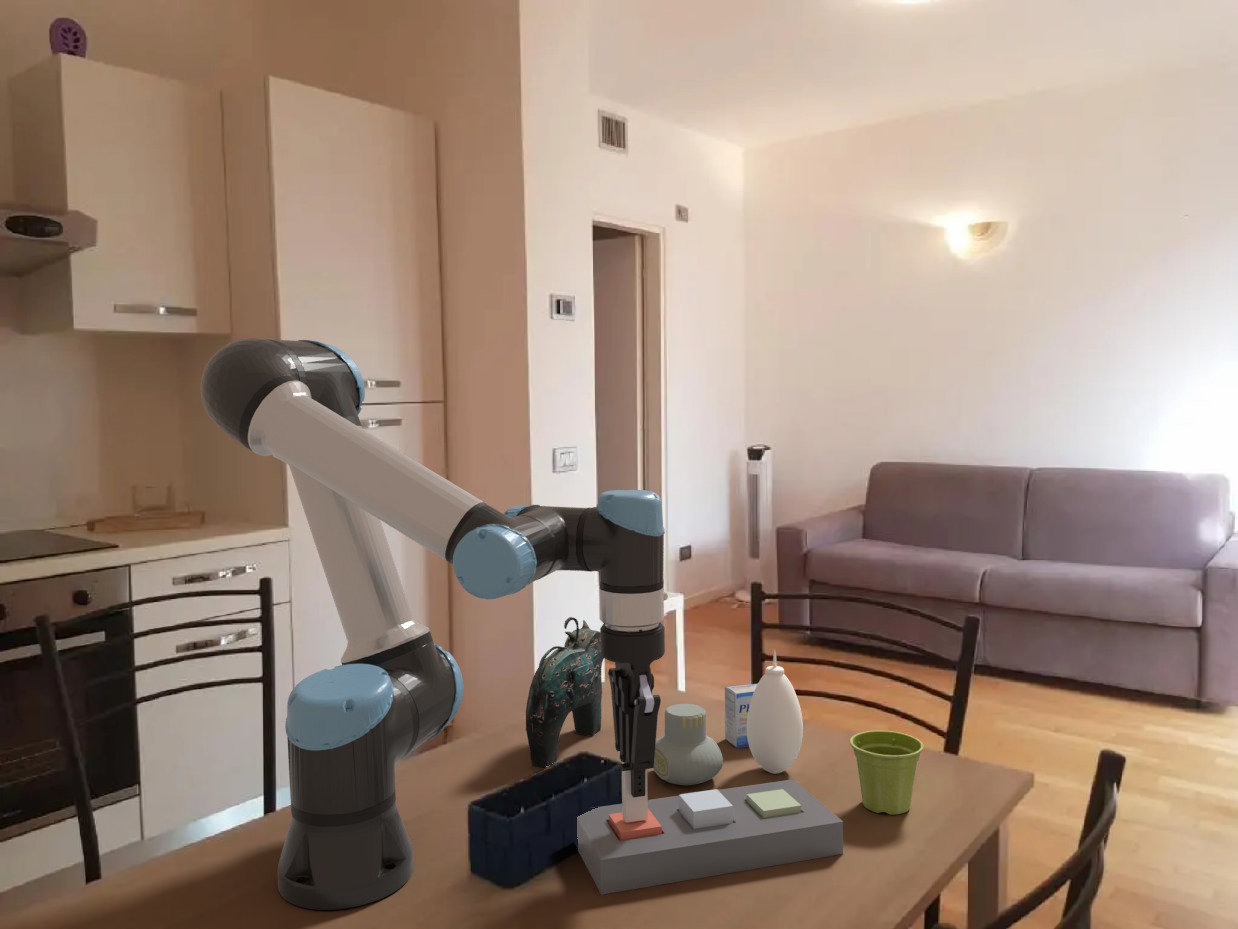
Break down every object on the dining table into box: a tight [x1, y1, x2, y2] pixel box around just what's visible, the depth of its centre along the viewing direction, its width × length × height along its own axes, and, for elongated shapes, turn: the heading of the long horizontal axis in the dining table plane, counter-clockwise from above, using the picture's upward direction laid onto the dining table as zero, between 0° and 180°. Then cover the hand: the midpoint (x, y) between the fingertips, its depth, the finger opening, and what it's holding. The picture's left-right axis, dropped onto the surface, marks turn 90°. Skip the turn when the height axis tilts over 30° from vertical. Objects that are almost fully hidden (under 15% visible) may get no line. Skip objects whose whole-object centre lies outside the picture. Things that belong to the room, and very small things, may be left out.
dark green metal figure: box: [525, 616, 605, 768], centre depth 151 cm, size 20×6×20 cm, turn 154°
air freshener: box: [652, 703, 724, 786], centre depth 139 cm, size 11×8×10 cm
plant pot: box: [849, 730, 924, 815], centre depth 129 cm, size 9×9×9 cm
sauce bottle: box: [747, 649, 804, 775], centre depth 140 cm, size 8×8×18 cm
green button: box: [747, 789, 801, 819], centre depth 120 cm, size 5×5×3 cm
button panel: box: [577, 779, 844, 895], centre depth 118 cm, size 30×13×4 cm, turn 106°
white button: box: [678, 788, 733, 829], centre depth 118 cm, size 5×5×3 cm
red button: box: [609, 809, 662, 841], centre depth 115 cm, size 5×5×3 cm
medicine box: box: [724, 683, 758, 749], centre depth 153 cm, size 8×4×9 cm, turn 106°
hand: (635, 818), depth 115 cm, fingers closed
